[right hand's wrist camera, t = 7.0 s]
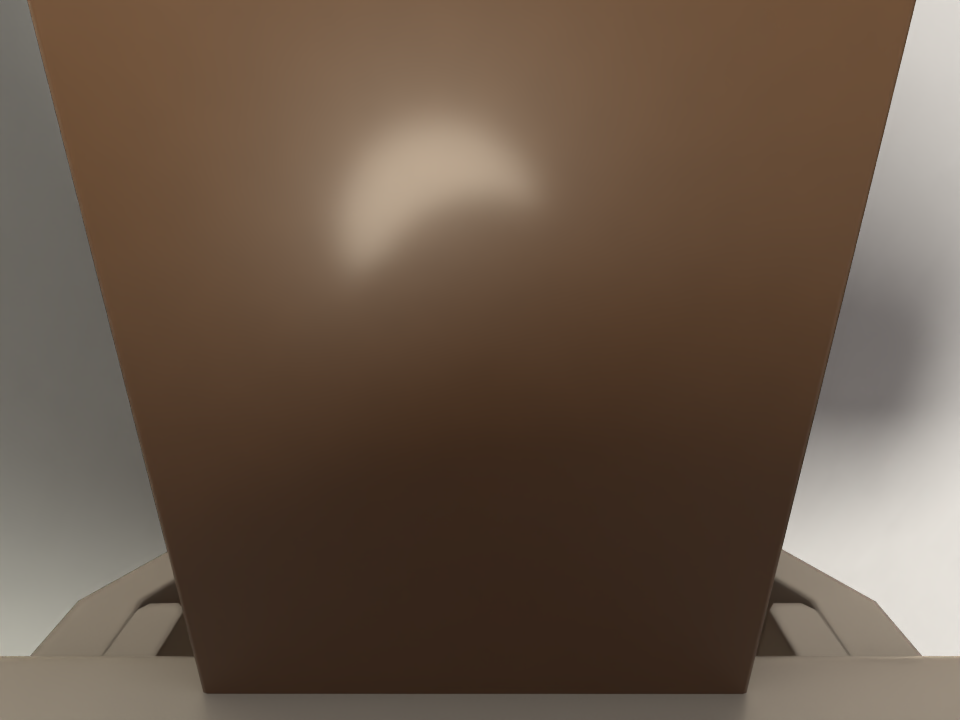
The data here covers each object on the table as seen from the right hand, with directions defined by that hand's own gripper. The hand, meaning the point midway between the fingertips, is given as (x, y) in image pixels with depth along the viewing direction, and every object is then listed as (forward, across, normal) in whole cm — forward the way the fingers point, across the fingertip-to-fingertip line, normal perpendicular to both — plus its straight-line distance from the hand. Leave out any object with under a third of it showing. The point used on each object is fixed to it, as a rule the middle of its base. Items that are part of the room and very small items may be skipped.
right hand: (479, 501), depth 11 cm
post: (+3, 0, -26) cm, 26 cm away
